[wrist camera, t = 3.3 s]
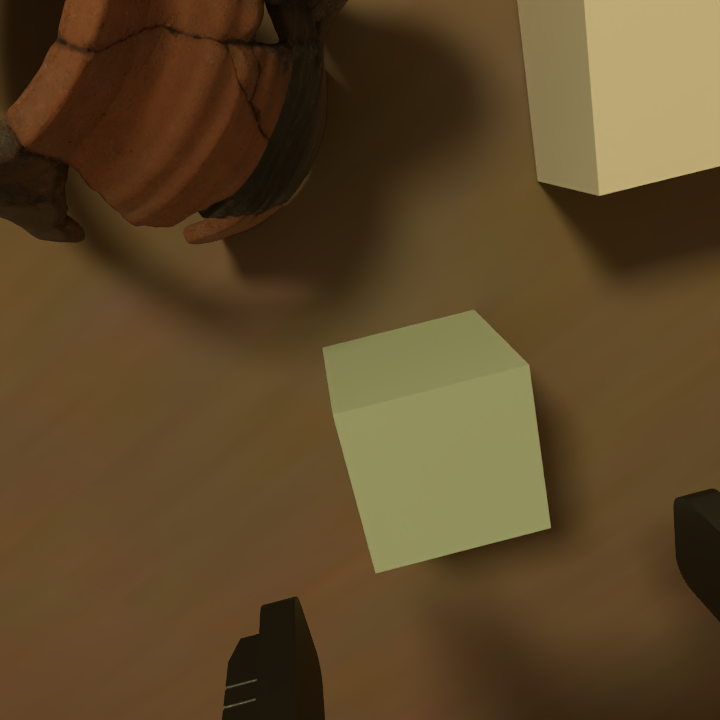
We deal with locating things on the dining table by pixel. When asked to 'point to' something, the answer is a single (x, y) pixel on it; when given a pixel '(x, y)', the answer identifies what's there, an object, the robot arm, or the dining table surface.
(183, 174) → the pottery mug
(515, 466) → the cube
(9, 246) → the dining table surface
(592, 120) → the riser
